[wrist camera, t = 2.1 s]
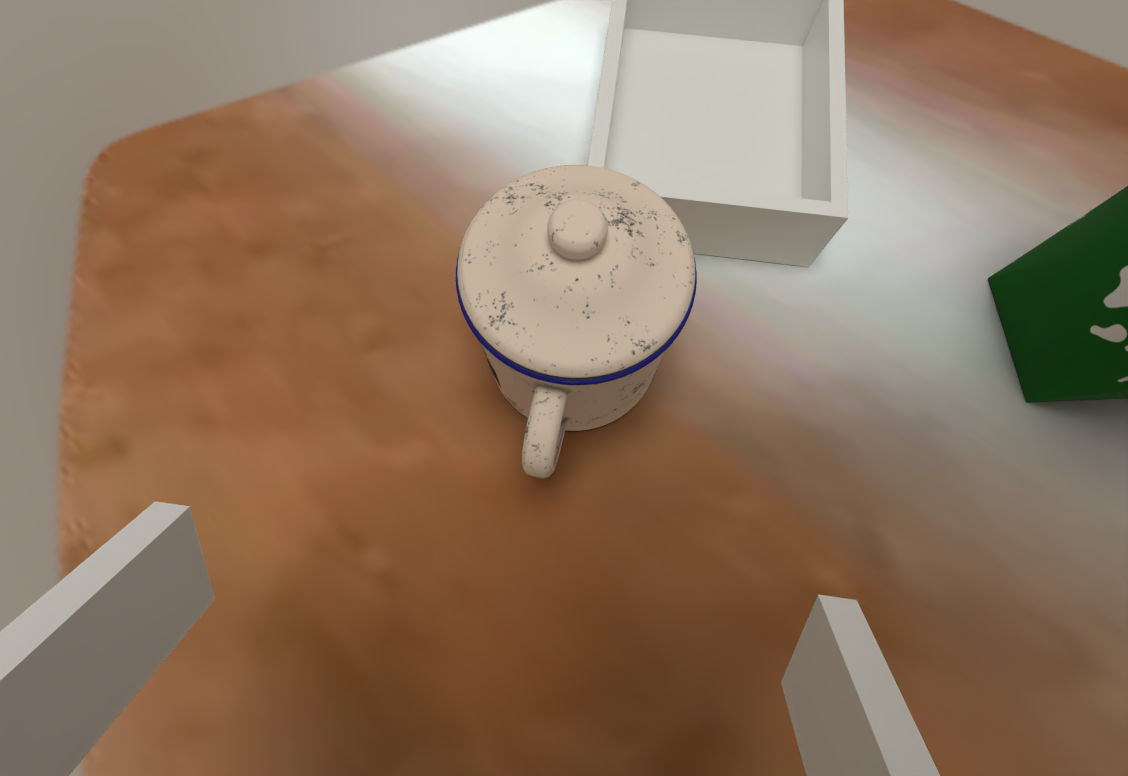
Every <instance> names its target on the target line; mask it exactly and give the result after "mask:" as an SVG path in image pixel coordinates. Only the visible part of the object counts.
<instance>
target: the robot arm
mask: <svg viewBox="0 0 1128 776" xmlns="http://www.w3.org/2000/svg"><path fill="white" fill-rule="evenodd" d="M214 600H215V596H214V593H213V589H212V585H211V582H210V578H209V574H208V571H207V567H206V563H205V560H204V556H203V552H202V549H201V545H200V541H199V538H198V534H197V530H196V527H195V523H194V519H193V516H192V512H191V508H190V506H183V505H176V504H169V503H162V502H154V503H153V504H152V505H150V506H149V507H148V508H147V509H146V510H144V511H143V512H142V513H141V514H140V515H139V516H137V517H136V518H135V519H134V520H133V521H131V522H130V523H129V524H128V525H127V526H125V527H124V528H123V529H122V530H121V531H119V532H118V533H117V534H116V535H115V536H114V537H112V538H111V539H110V540H109V541H108V542H106V543H105V544H104V545H103V546H102V547H100V548H99V549H98V550H97V551H96V552H95V553H93V554H92V555H91V556H90V557H89V558H87V559H86V560H85V561H84V562H83V563H81V564H80V565H79V566H78V567H77V568H75V569H74V570H73V571H72V572H71V573H70V574H68V575H67V576H66V577H65V578H64V579H62V580H61V581H60V582H59V583H58V584H56V585H55V586H54V587H53V588H52V589H51V590H49V591H48V592H47V593H46V594H45V595H43V596H42V597H41V598H40V599H39V600H38V601H36V602H35V603H34V604H33V605H31V606H30V607H29V608H28V609H27V610H26V611H24V612H23V613H22V614H21V615H20V616H18V617H17V618H16V619H15V620H14V621H12V622H11V623H10V624H9V625H8V626H6V627H5V628H4V629H3V630H2V631H1V632H0V776H69V775H70V774H71V772H72V771H73V770H74V769H75V768H76V766H77V765H78V764H79V763H80V762H81V760H82V759H83V758H84V757H85V756H86V754H87V753H88V752H89V751H90V750H91V748H92V747H93V746H94V745H95V743H96V742H97V741H98V740H99V739H100V737H101V736H102V735H103V734H104V733H105V731H106V730H107V729H108V728H109V727H110V725H111V724H112V723H113V722H114V721H115V719H116V718H117V717H118V716H119V715H120V713H121V712H122V711H123V710H124V709H125V707H126V706H127V705H128V704H129V703H130V701H131V700H132V699H133V698H134V697H135V695H136V694H137V693H138V692H139V691H140V689H141V688H142V687H143V686H144V684H145V683H146V682H147V681H148V680H149V678H150V677H151V676H152V675H153V674H154V672H155V671H156V670H157V669H158V668H159V666H160V665H161V664H162V663H163V662H164V660H165V659H166V658H167V657H168V656H169V654H170V653H171V652H172V651H173V650H174V648H175V647H176V646H177V645H178V644H179V642H180V641H181V640H182V639H183V638H184V636H185V635H186V634H187V633H188V632H189V630H190V629H191V628H192V627H193V625H194V624H195V623H196V622H197V621H198V619H199V618H200V617H201V616H202V615H203V613H204V612H205V611H206V610H207V609H208V607H209V606H210V605H211V604H212V603H213V601H214ZM781 685H782V689H783V692H784V696H785V700H786V703H787V707H788V711H789V714H790V718H791V722H792V725H793V729H794V732H795V736H796V740H797V743H798V747H799V751H800V754H801V758H802V762H803V765H804V769H805V773H806V776H940V774H939V772H938V770H937V768H936V766H935V764H934V762H933V760H932V758H931V756H930V753H929V751H928V749H927V747H926V745H925V743H924V741H923V739H922V737H921V734H920V732H919V730H918V728H917V726H916V724H915V722H914V720H913V718H912V716H911V713H910V711H909V709H908V707H907V705H906V703H905V701H904V699H903V697H902V694H901V692H900V690H899V688H898V686H897V684H896V682H895V680H894V678H893V676H892V673H891V671H890V669H889V667H888V665H887V663H886V661H885V659H884V657H883V654H882V652H881V650H880V648H879V646H878V644H877V642H876V640H875V638H874V636H873V633H872V631H871V629H870V627H869V625H868V623H867V621H866V619H865V617H864V614H863V612H862V610H861V608H860V606H859V604H858V602H857V600H853V599H846V598H839V597H832V596H825V595H818V596H817V598H816V601H815V603H814V605H813V608H812V610H811V612H810V615H809V617H808V619H807V622H806V624H805V627H804V629H803V631H802V634H801V636H800V638H799V641H798V643H797V645H796V648H795V650H794V653H793V655H792V657H791V660H790V662H789V664H788V667H787V669H786V671H785V674H784V676H783V679H782V681H781Z"/></svg>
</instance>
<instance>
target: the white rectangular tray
mask: <svg viewBox="0 0 1128 776" xmlns="http://www.w3.org/2000/svg"><path fill="white" fill-rule="evenodd" d="M588 166H595V167H601V168H606V169H610V170H613V171H616V172H620V173H622V174H625V175H627V176H629V177H631V178H633V179H635V180H637V181H639V182H641V183H642V184H644V185H646V186H647V187H649V188H650V189H651V190H653V191H654V192H655V193H657V194H658V195H659V196H660V197H661V198H662V199H663V200H664V201H665V202H666V203H667V204H668V205H669V206H670V207H671V209H672V210H673V211H674V213H675V214H676V215H677V217H678V218H679V220H680V221H681V223H682V225H683V226H684V228H685V230H686V232H687V235H688V237H689V240H690V243H691V246H692V250H693V253H695V254H703V255H712V256H720V257H729V258H737V259H746V260H754V261H763V262H771V263H780V264H788V265H797V266H805V267H809V266H810V265H811V263H812V262H813V261H814V260H815V259H816V257H817V256H818V255H819V254H820V252H821V251H822V250H823V249H824V247H825V246H826V245H827V244H828V243H829V241H830V240H831V239H832V238H833V236H834V235H835V234H836V233H837V231H838V230H839V229H840V228H841V227H842V225H843V224H844V223H845V222H846V220H847V219H848V179H847V136H846V94H845V51H844V9H843V0H612V6H611V12H610V19H609V26H608V32H607V39H606V46H605V52H604V59H603V66H602V72H601V79H600V86H599V92H598V99H597V106H596V112H595V119H594V126H593V132H592V139H591V146H590V152H589V159H588Z"/></svg>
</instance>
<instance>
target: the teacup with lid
mask: <svg viewBox="0 0 1128 776" xmlns="http://www.w3.org/2000/svg"><path fill="white" fill-rule="evenodd" d="M696 283H697V275H696V264H695V258H694V254H693V250H692V246H691V243H690V240H689V237H688V235H687V232H686V230H685V228H684V226H683V225H682V223H681V221H680V220H679V218H678V217H677V215H676V214H675V213H674V211H673V210H672V209H671V207H670V206H669V205H668V204H667V203H666V202H665V201H664V200H663V199H662V198H661V197H660V196H659V195H658V194H657V193H655V192H654V191H653V190H651V189H650V188H649V187H647V186H646V185H644V184H642V183H641V182H639V181H637V180H635V179H633V178H631V177H629V176H627V175H625V174H622V173H620V172H616V171H613V170H610V169H606V168H601V167H595V166H586V165H565V166H556V167H551V168H546V169H542V170H539V171H535V172H533V173H530V174H527V175H525V176H523V177H521V178H518V179H516V180H515V181H513V182H511V183H510V184H508V185H506V186H505V187H504V188H502V189H501V190H499V191H498V192H497V193H496V194H495V195H493V196H492V197H491V198H490V199H489V200H488V201H487V202H486V203H485V204H484V205H483V206H482V208H481V209H480V210H479V211H478V213H477V214H476V215H475V217H474V218H473V220H472V222H471V223H470V225H469V227H468V229H467V231H466V233H465V236H464V238H463V241H462V244H461V247H460V251H459V255H458V259H457V266H456V288H457V294H458V299H459V303H460V306H461V310H462V312H463V315H464V317H465V319H466V321H467V323H468V325H469V327H470V328H471V330H472V332H473V333H474V335H475V336H476V337H477V339H478V340H479V341H480V342H481V344H482V347H483V349H484V352H485V355H486V357H487V360H488V363H489V365H490V368H491V371H492V373H493V376H494V379H495V381H496V383H497V385H498V387H499V389H500V391H501V392H502V394H503V395H504V397H505V398H506V399H507V400H508V402H509V403H510V404H511V405H512V406H513V407H514V408H515V409H516V410H517V411H519V412H520V413H521V414H523V415H524V416H525V417H527V418H528V421H527V426H526V431H525V437H524V443H523V450H522V466H523V469H524V471H525V473H526V474H528V475H530V476H534V477H538V478H547V477H549V476H550V475H551V474H552V473H553V472H554V470H555V467H556V464H557V461H558V458H559V454H560V450H561V446H562V442H563V438H564V434H565V430H567V431H581V430H589V429H593V428H598V427H601V426H604V425H606V424H609V423H611V422H613V421H615V420H617V419H618V418H620V417H622V416H623V415H624V414H626V413H627V412H628V411H629V410H631V409H632V408H633V407H634V406H635V405H636V404H637V403H638V402H639V401H640V399H641V398H642V397H643V395H644V394H645V392H646V391H647V389H648V387H649V385H650V383H651V381H652V379H653V376H654V374H655V372H656V370H657V368H658V366H659V363H660V361H661V359H662V357H663V355H664V353H665V351H666V349H667V348H668V347H669V346H670V345H671V344H672V343H673V341H674V340H675V339H676V337H677V336H678V335H679V333H680V332H681V330H682V328H683V327H684V325H685V323H686V321H687V319H688V317H689V314H690V312H691V309H692V306H693V302H694V297H695V292H696Z"/></svg>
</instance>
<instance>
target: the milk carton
mask: <svg viewBox="0 0 1128 776" xmlns="http://www.w3.org/2000/svg"><path fill="white" fill-rule="evenodd" d="M988 279H989V282H990V286H991V289H992V292H993V295H994V298H995V302H996V305H997V308H998V311H999V314H1000V318H1001V321H1002V324H1003V327H1004V331H1005V334H1006V337H1007V340H1008V343H1009V347H1010V350H1011V353H1012V356H1013V359H1014V363H1015V366H1016V369H1017V372H1018V375H1019V379H1020V382H1021V385H1022V388H1023V392H1024V395H1025V398H1026V401H1027V402H1046V401H1070V400H1094V399H1118V398H1128V186H1127V187H1126V188H1124V189H1123V190H1121V191H1120V192H1118V193H1117V194H1115V195H1114V196H1112V197H1111V198H1109V199H1108V200H1106V201H1105V202H1103V203H1102V204H1100V205H1099V206H1097V207H1096V208H1094V209H1093V210H1091V211H1090V212H1088V213H1087V214H1085V215H1084V216H1082V217H1081V218H1079V219H1078V220H1076V221H1075V222H1073V223H1072V224H1070V225H1068V226H1067V227H1065V228H1064V229H1062V230H1061V231H1059V232H1058V233H1056V234H1055V235H1053V236H1052V237H1050V238H1049V239H1047V240H1046V241H1044V242H1043V243H1041V244H1040V245H1038V246H1037V247H1035V248H1034V249H1032V250H1031V251H1029V252H1028V253H1026V254H1025V255H1023V256H1022V257H1020V258H1018V259H1017V260H1015V261H1014V262H1012V263H1011V264H1009V265H1008V266H1006V267H1005V268H1003V269H1002V270H1000V271H999V272H997V273H996V274H994V275H992V276H991V277H989V278H988Z"/></svg>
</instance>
